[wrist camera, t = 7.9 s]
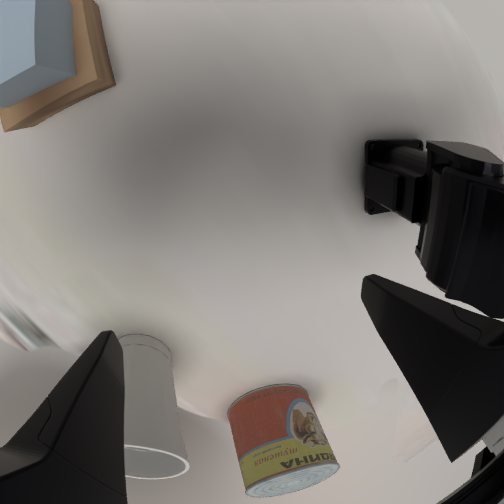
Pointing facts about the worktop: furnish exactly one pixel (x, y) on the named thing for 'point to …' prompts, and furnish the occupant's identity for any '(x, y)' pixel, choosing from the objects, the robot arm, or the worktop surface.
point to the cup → (151, 411)
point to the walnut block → (75, 88)
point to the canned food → (279, 441)
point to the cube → (34, 47)
